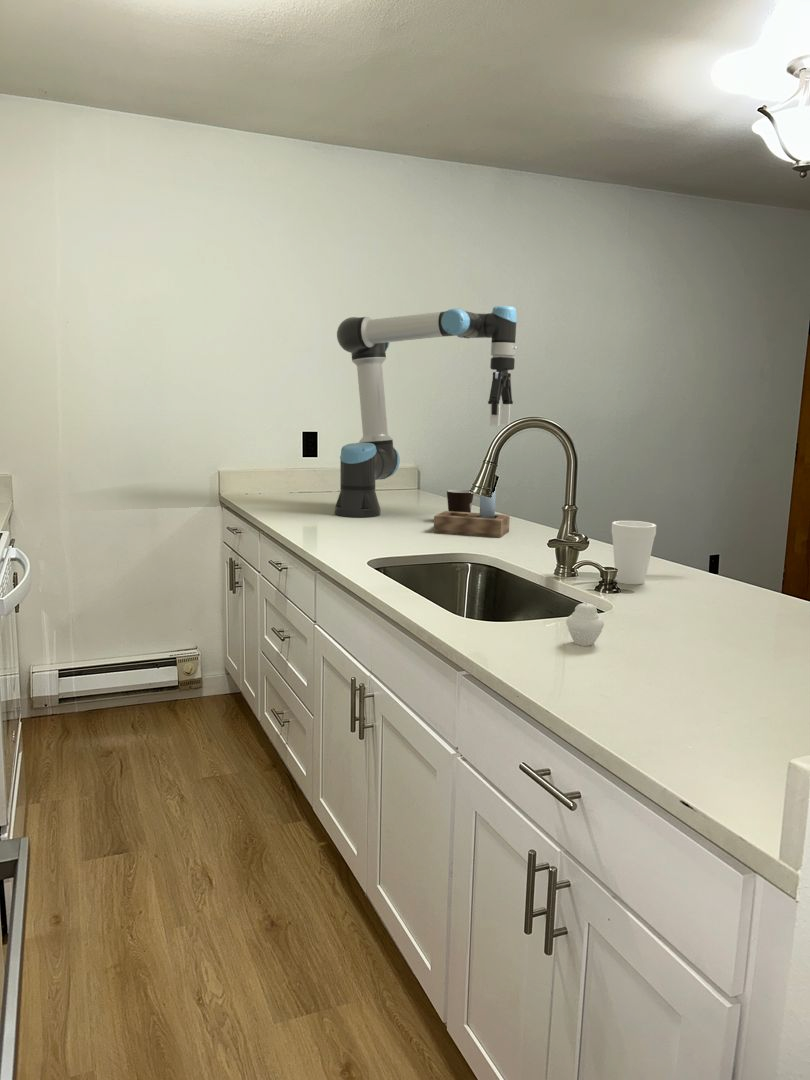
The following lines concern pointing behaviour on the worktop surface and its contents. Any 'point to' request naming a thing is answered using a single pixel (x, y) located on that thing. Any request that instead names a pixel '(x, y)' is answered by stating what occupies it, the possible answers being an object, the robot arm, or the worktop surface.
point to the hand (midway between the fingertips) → (499, 425)
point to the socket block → (471, 524)
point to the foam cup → (632, 549)
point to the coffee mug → (459, 500)
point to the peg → (487, 506)
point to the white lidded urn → (585, 624)
